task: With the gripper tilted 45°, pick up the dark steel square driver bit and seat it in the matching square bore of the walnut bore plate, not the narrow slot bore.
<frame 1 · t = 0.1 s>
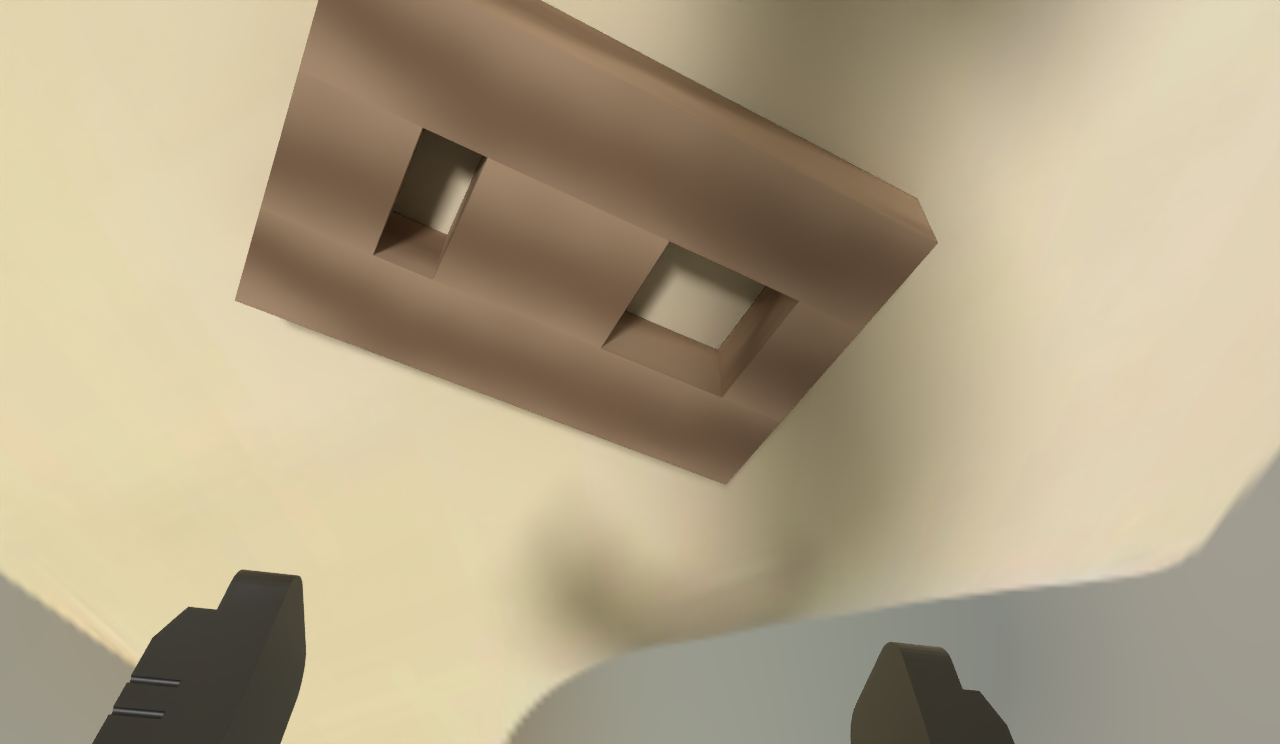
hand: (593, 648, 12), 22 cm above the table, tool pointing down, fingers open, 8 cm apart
bore plate: (580, 228, 34), on the table
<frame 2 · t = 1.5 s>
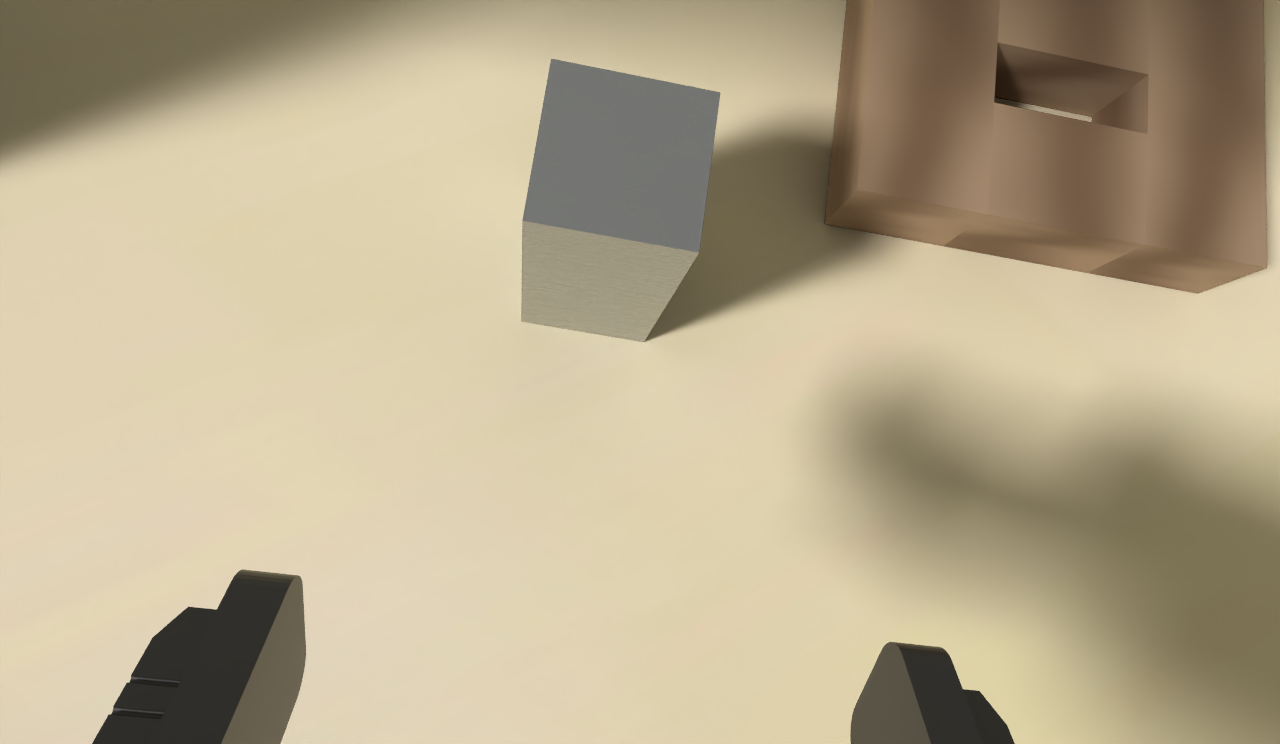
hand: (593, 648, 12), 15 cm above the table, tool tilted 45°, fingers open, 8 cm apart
square bit: (592, 273, 29), on the table
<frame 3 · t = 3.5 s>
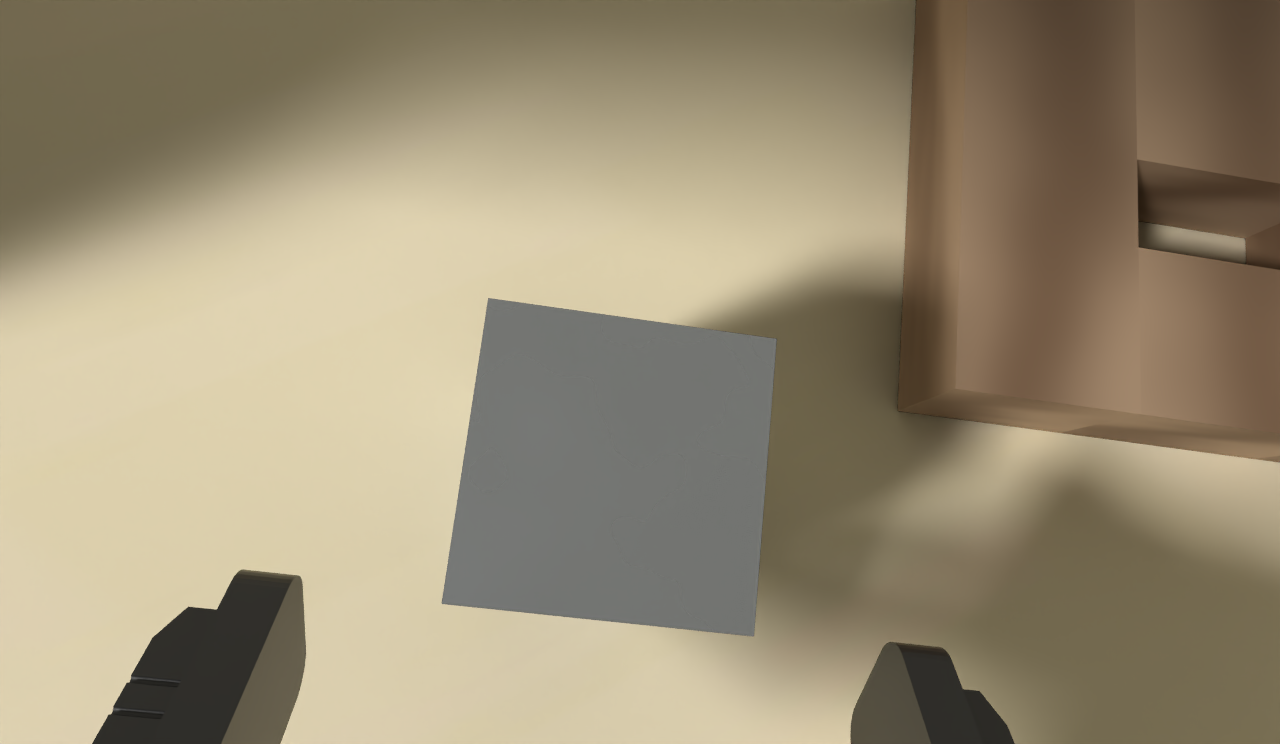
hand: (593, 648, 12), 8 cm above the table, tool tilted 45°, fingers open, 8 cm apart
bore plate: (1151, 77, 25), on the table
square bit: (576, 503, 20), on the table
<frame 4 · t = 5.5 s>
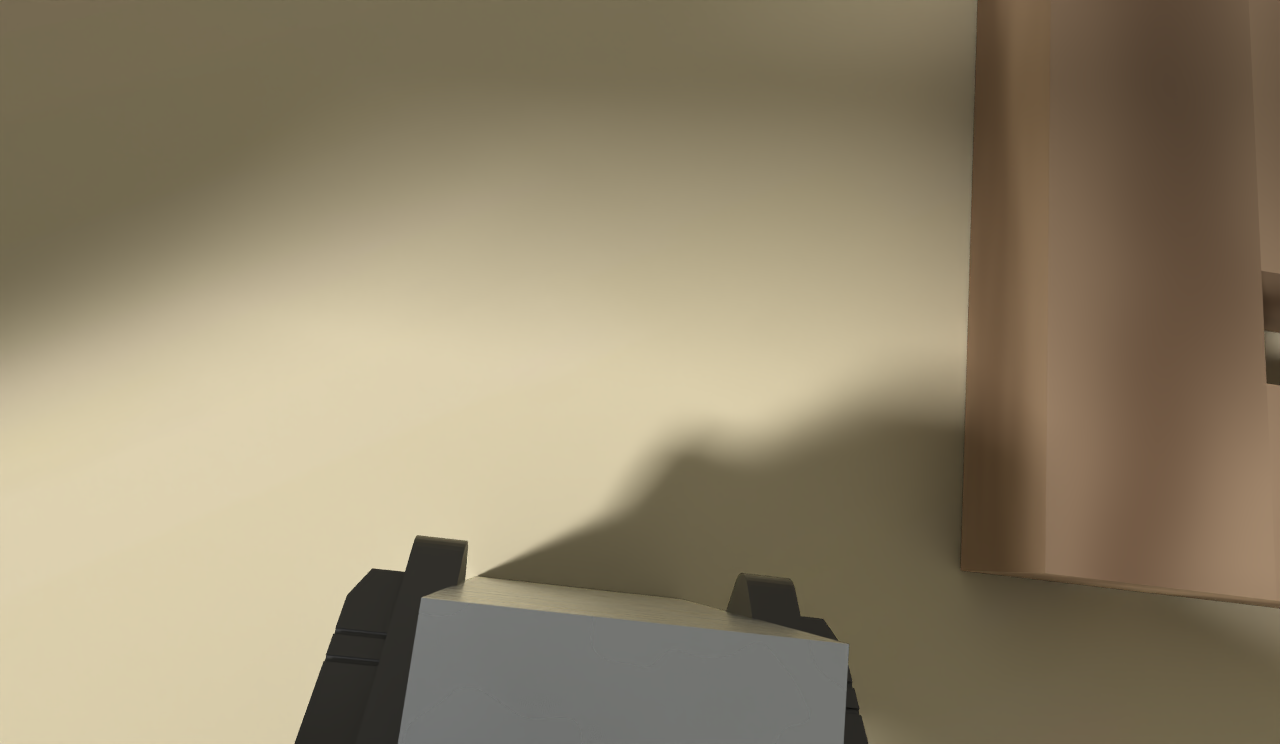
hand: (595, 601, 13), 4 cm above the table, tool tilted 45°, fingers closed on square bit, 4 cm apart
bore plate: (1254, 152, 21), on the table
square bit: (567, 697, 16), on the table, touching gripper
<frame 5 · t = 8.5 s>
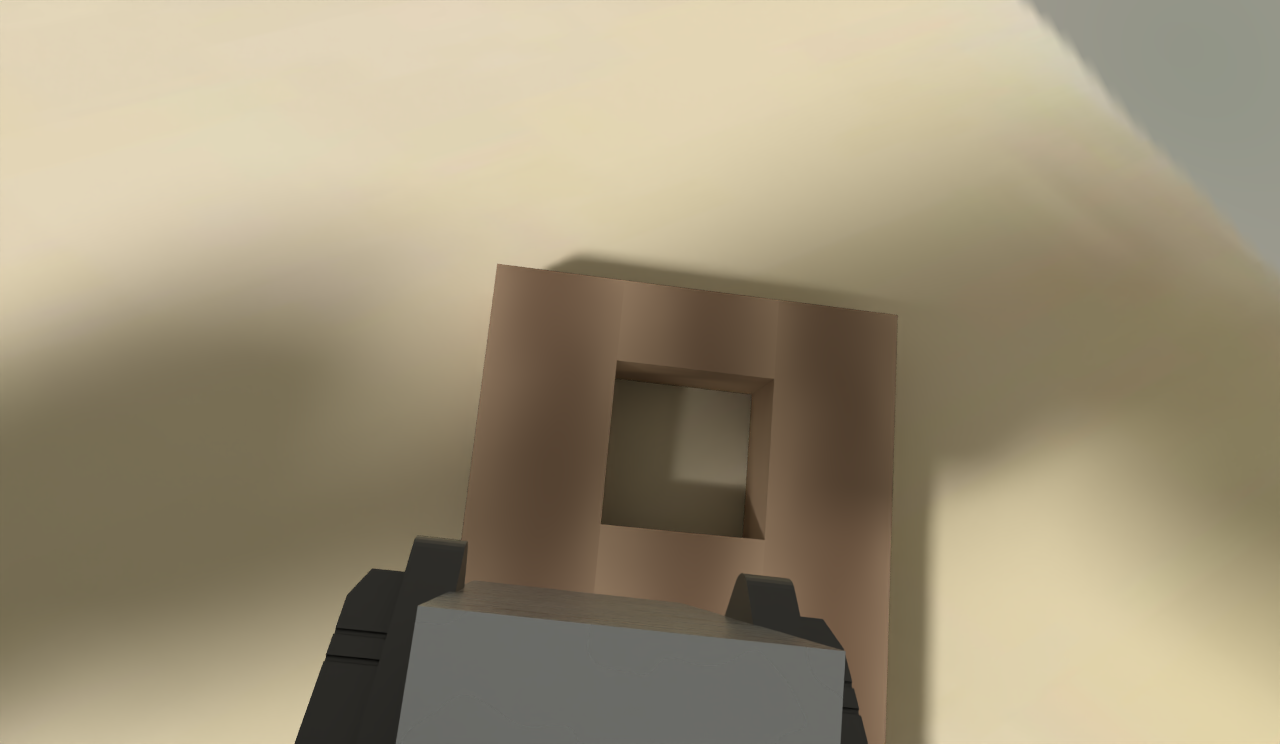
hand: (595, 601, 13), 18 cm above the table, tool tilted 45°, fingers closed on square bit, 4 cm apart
bore plate: (663, 600, 31), on the table
square bit: (565, 701, 16), point 14 cm above the table, touching gripper
when the fingers open (5 cm above the table, at t = 11.9 s): square bit drops 1 cm, resting in bore plate.
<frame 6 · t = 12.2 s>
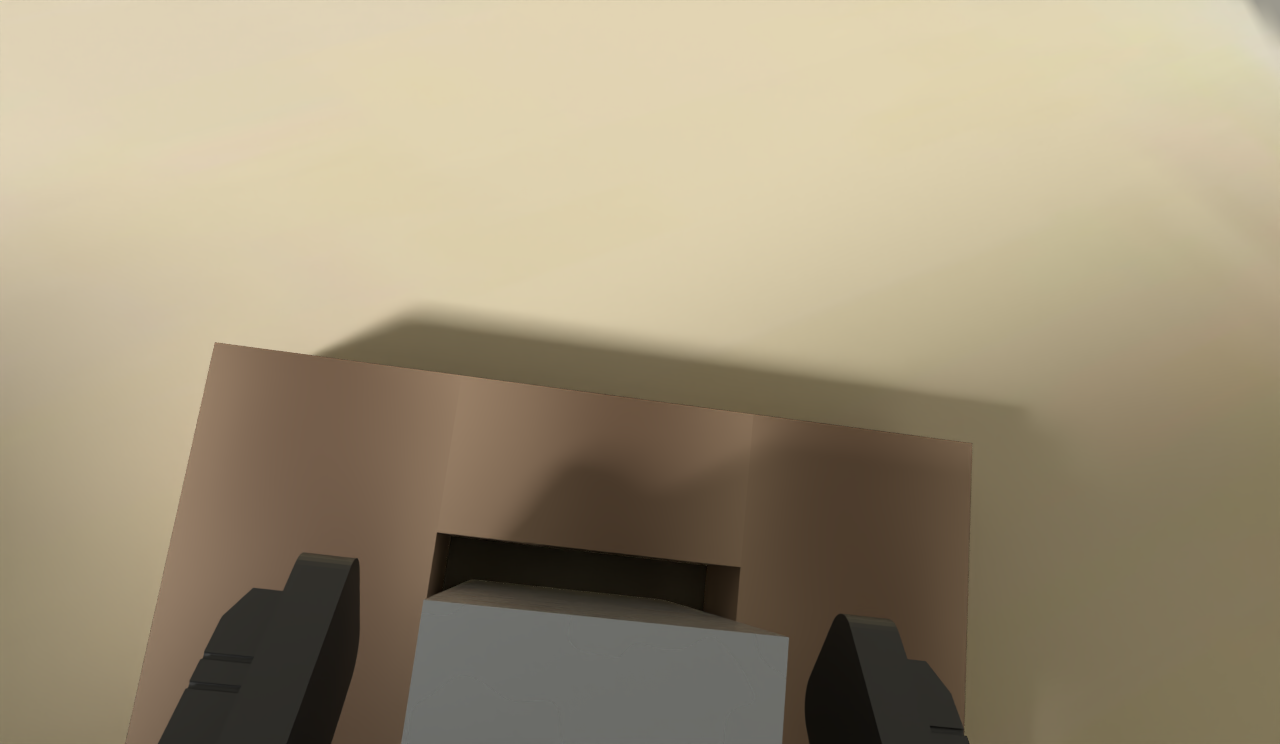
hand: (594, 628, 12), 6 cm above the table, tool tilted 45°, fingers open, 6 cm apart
square bit: (556, 690, 18), resting in bore plate
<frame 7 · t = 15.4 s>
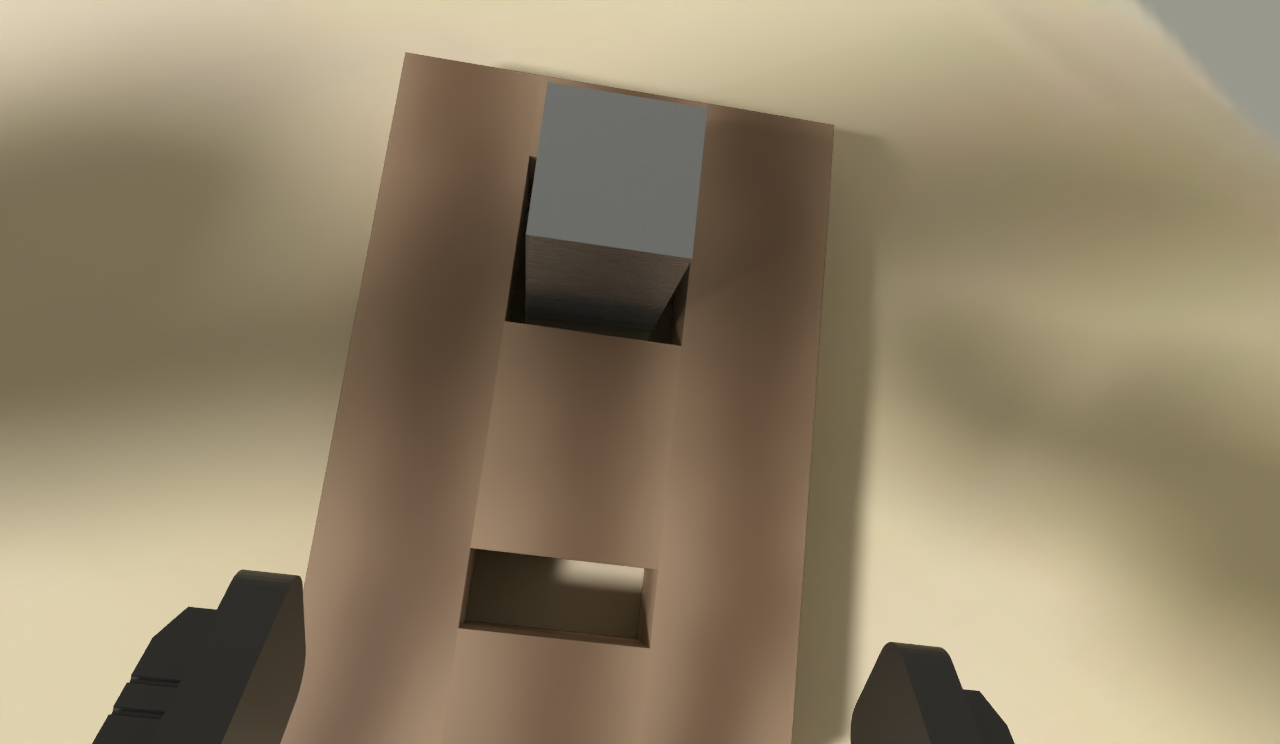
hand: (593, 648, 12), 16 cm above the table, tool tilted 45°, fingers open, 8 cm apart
bore plate: (578, 423, 29), on the table
square bit: (592, 281, 30), resting in bore plate
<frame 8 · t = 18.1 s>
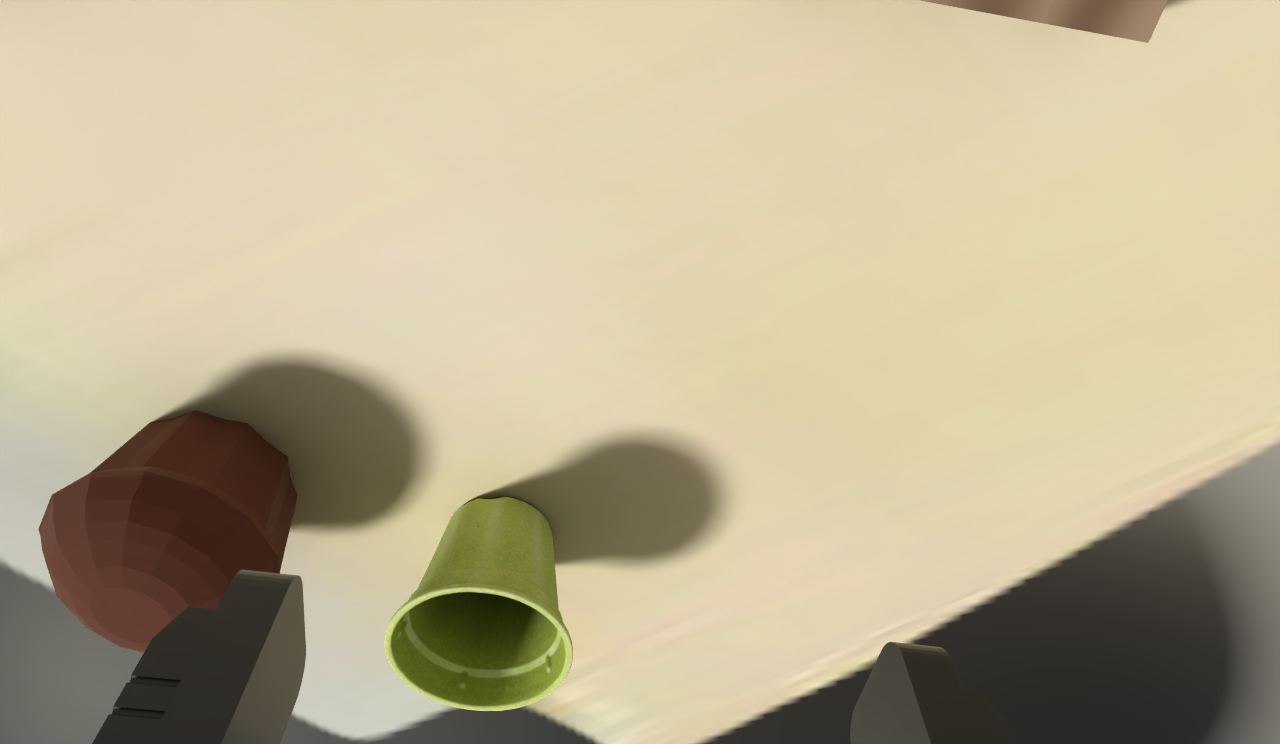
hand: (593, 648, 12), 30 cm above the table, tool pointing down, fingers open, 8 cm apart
muffin: (217, 474, 49), on the table
plant pot: (500, 531, 52), on the table
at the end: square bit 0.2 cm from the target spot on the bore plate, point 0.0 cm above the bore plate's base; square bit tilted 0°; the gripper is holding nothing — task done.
